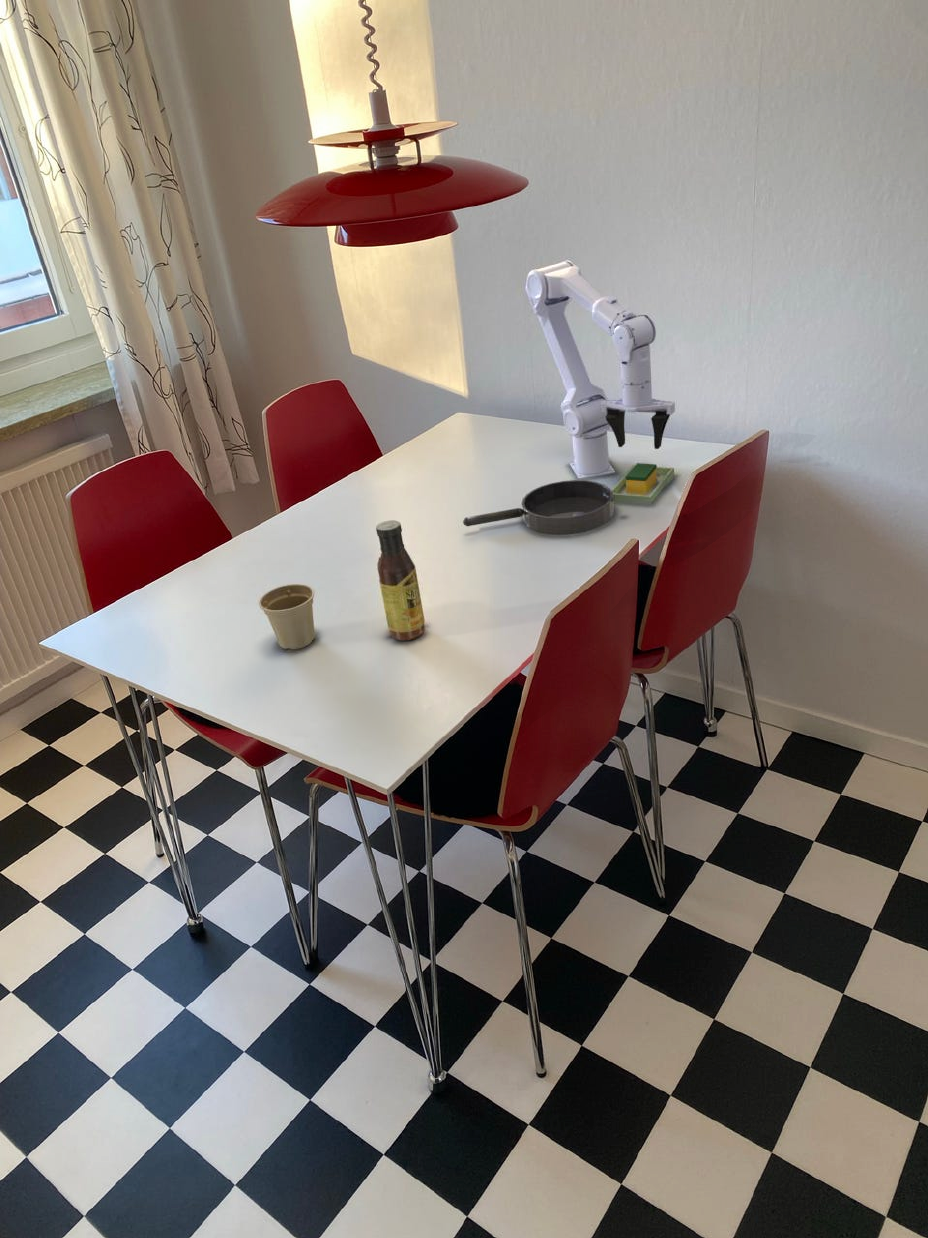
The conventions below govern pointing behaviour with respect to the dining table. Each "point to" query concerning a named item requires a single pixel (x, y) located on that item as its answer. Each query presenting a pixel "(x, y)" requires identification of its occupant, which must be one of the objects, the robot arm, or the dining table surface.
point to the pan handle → (493, 517)
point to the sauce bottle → (399, 584)
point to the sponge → (641, 478)
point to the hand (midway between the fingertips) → (639, 446)
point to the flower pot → (290, 614)
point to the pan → (568, 507)
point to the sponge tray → (666, 478)
